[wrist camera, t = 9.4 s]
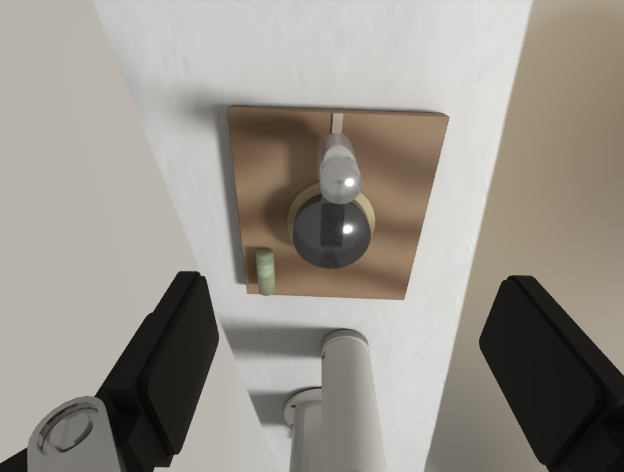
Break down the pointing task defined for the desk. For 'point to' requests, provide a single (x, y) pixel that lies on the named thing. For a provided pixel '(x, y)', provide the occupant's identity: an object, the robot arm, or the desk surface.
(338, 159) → the grey rounded piece
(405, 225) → the base
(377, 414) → the travel mug
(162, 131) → the desk surface
